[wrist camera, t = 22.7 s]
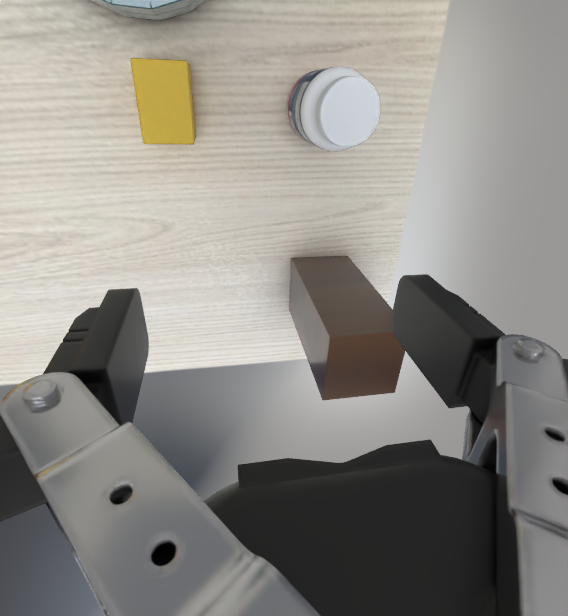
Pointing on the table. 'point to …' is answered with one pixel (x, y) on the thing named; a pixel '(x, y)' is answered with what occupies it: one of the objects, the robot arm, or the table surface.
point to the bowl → (150, 7)
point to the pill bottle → (333, 108)
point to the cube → (164, 100)
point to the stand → (343, 328)
